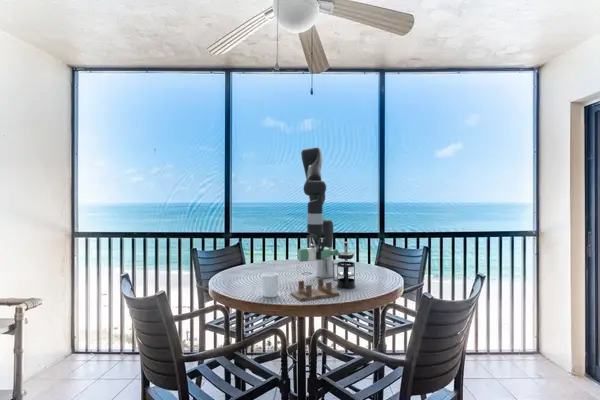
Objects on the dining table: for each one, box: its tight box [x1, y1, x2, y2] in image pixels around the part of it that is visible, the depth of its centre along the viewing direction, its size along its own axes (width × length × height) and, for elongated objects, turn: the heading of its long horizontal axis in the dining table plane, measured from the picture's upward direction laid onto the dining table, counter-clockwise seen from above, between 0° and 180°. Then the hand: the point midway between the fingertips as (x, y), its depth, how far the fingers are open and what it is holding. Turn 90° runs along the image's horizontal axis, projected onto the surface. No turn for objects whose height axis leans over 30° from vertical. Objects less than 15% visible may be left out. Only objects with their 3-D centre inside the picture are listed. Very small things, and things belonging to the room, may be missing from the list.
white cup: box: [261, 271, 280, 298], centre depth 155 cm, size 8×8×10 cm
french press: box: [333, 241, 356, 290], centre depth 170 cm, size 12×9×23 cm
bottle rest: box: [290, 278, 340, 302], centre depth 155 cm, size 20×11×6 cm, turn 114°
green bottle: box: [297, 247, 340, 263], centre depth 156 cm, size 20×6×6 cm, turn 114°
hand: (315, 258), depth 155 cm, fingers closed on green bottle, 6 cm apart
